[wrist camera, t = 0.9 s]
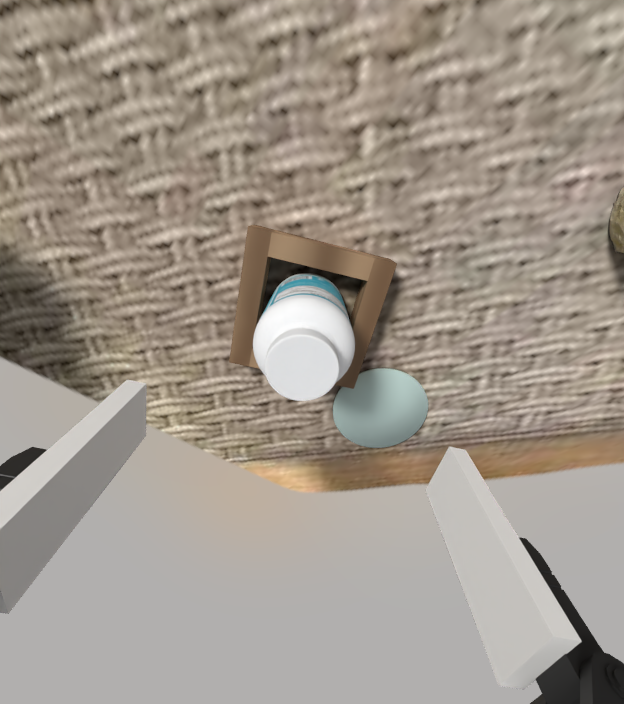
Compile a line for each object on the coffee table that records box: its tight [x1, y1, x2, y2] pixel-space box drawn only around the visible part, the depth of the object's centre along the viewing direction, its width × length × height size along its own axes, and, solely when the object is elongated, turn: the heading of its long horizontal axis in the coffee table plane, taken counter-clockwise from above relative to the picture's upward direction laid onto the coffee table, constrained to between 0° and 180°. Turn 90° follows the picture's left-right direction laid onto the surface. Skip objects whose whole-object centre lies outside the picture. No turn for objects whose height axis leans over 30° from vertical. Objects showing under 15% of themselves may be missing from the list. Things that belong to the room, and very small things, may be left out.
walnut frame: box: [229, 225, 397, 389], centre depth 30 cm, size 13×13×3 cm
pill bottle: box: [253, 273, 355, 401], centre depth 25 cm, size 8×7×14 cm
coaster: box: [333, 368, 428, 448], centre depth 36 cm, size 11×11×1 cm
